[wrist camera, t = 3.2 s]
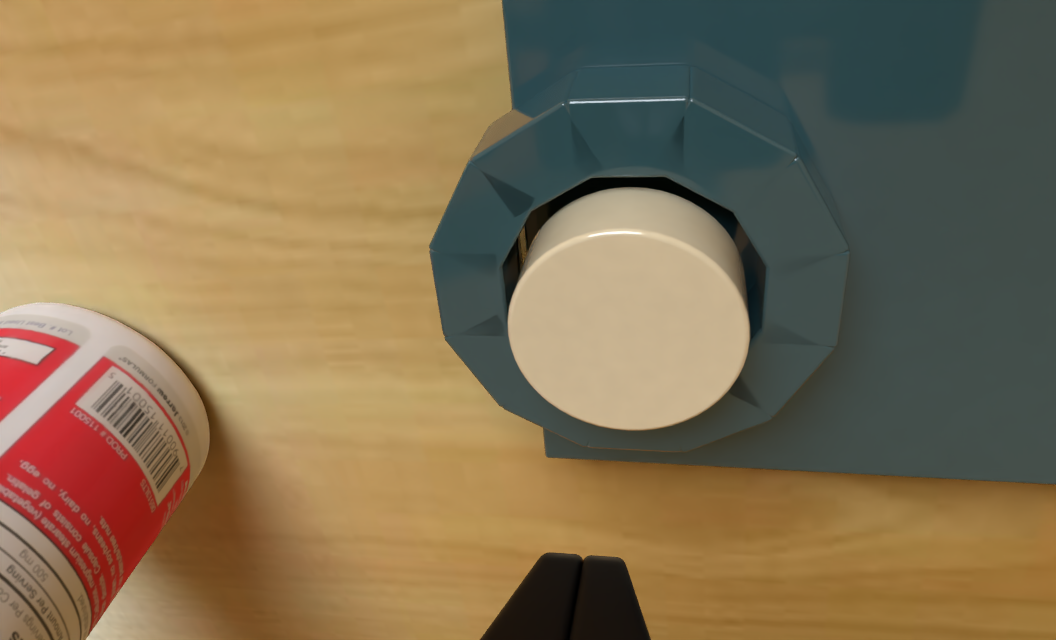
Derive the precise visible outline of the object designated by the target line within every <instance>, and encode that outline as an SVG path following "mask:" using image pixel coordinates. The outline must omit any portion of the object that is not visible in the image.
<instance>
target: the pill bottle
mask: <svg viewBox="0 0 1056 640" xmlns="http://www.w3.org/2000/svg"><path fill="white" fill-rule="evenodd" d="M209 445H210V430H209V423H208V418H207V414H206V410H205V407H204V405H203V402H202V400H201V398H200V396H199V394H198V392H197V391H196V389H195V388H194V386H193V385H192V383H191V382H190V380H189V379H188V378H187V376H186V375H185V374H184V373H183V371H182V370H181V369H180V368H179V367H178V365H177V364H176V363H175V362H174V361H173V360H172V359H171V358H170V357H169V356H168V355H167V354H166V353H165V352H164V351H163V350H161V349H160V348H159V347H158V346H157V345H155V344H154V343H153V342H151V341H150V340H149V339H147V338H146V337H144V336H143V335H141V334H140V333H138V332H136V331H135V330H133V329H131V328H129V327H128V326H126V325H124V324H122V323H120V322H119V321H116V320H114V319H112V318H110V317H108V316H105V315H103V314H100V313H98V312H95V311H92V310H88V309H85V308H81V307H77V306H73V305H69V304H60V303H49V302H46V303H31V304H26V305H21V306H17V307H14V308H11V309H8V310H6V311H4V312H1V313H0V640H85V639H86V638H87V637H88V635H89V634H90V632H91V631H92V629H93V628H94V627H95V625H96V624H97V622H98V621H99V619H100V618H101V616H102V615H103V614H104V612H105V611H106V609H107V608H108V606H109V605H110V603H111V602H112V600H113V599H114V598H115V596H116V595H117V593H118V592H119V590H120V589H121V588H122V586H123V585H124V583H125V582H126V580H127V579H128V577H129V576H130V574H131V573H132V572H133V570H134V569H135V567H136V566H137V564H138V563H139V562H140V560H141V559H142V557H143V556H144V554H145V553H146V552H147V550H148V549H149V547H150V546H151V545H152V543H153V542H154V540H155V539H156V537H157V536H158V534H159V533H160V531H161V530H162V528H163V527H164V526H165V524H166V523H167V521H168V520H169V519H170V517H171V515H172V514H173V513H174V511H175V510H176V508H177V507H178V505H179V504H180V503H181V501H182V500H183V498H184V497H185V495H186V493H187V492H188V490H189V489H190V487H191V486H192V484H193V483H194V481H195V480H196V478H197V477H198V475H199V474H200V472H201V470H202V468H203V466H204V464H205V461H206V458H207V455H208V451H209Z"/></svg>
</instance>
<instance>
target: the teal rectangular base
mask: <svg viewBox="0 0 1056 640" xmlns="http://www.w3.org/2000/svg"><path fill="white" fill-rule="evenodd" d="M502 8H503V19H504V29H505V39H506V50H507V60H508V71H509V81H510V91H511V102H512V111H510V112H509V113H507V114H505V115H504V116H502V117H501V118H499V119H498V120H496V121H494V122H493V123H492V124H491V126H489V127H488V128H487V130H486V132H485V133H484V135H483V137H482V139H481V140H480V142H479V144H478V145H477V147H476V149H475V150H474V152H473V154H472V156H471V157H470V159H469V161H468V162H467V165H466V167H465V169H464V171H463V173H462V175H461V178H460V180H459V182H458V184H457V186H456V188H455V191H454V193H453V195H452V197H451V199H450V201H449V204H448V206H447V208H446V210H445V212H444V215H443V217H442V219H441V221H440V223H439V225H438V228H437V230H436V232H435V234H434V236H433V238H432V241H431V243H430V245H429V248H430V251H429V252H430V258H431V264H432V270H433V276H434V282H435V288H436V294H437V300H438V306H439V312H440V318H441V324H442V330H443V334H444V336H445V340H446V341H447V343H448V344H449V345H450V346H451V347H452V349H453V350H454V351H455V352H456V354H457V355H458V356H459V357H460V358H461V360H462V361H463V362H464V363H465V365H466V366H467V367H468V368H469V369H470V371H471V372H472V373H473V374H474V375H475V377H476V378H477V379H478V380H479V382H480V383H481V384H482V385H483V386H484V388H485V389H486V390H487V391H488V392H489V394H490V395H491V396H492V397H493V399H494V400H495V401H496V402H497V403H498V405H499V406H501V407H503V408H504V409H505V410H507V411H509V412H511V413H513V414H515V415H518V416H520V417H522V418H524V419H526V420H528V421H530V422H532V423H534V424H536V425H539V426H541V427H543V435H544V445H545V455H546V457H548V458H564V459H582V460H601V461H620V462H639V463H658V464H677V465H695V466H714V467H733V468H752V469H771V470H789V471H808V472H827V473H846V474H865V475H883V476H902V477H921V478H940V479H959V480H977V481H996V482H1015V483H1034V484H1053V485H1056V0H502ZM621 187H642V188H650V189H656V190H661V191H665V192H668V193H671V194H675V195H677V196H679V197H682V198H684V199H686V200H688V201H690V202H692V203H694V204H695V205H697V206H699V207H700V208H702V209H704V210H705V211H706V212H707V213H709V214H710V215H711V216H712V217H714V218H715V219H716V220H717V221H718V222H719V223H720V224H721V225H722V227H723V228H724V229H725V230H726V231H727V233H728V234H729V235H730V237H731V238H732V240H733V241H734V243H735V245H736V247H737V249H738V251H739V253H740V256H741V259H742V262H743V265H744V271H745V277H746V286H747V297H748V307H749V318H750V345H749V352H748V355H747V358H746V361H745V364H744V367H743V369H742V371H741V373H740V375H739V377H738V378H737V380H736V381H735V382H734V384H733V385H732V387H731V388H730V389H729V391H728V392H727V393H726V394H725V395H724V396H723V397H722V398H721V399H720V400H719V401H718V402H716V403H715V404H714V405H713V406H711V407H710V408H709V409H707V410H706V411H704V412H702V413H701V414H699V415H697V416H695V417H693V418H691V419H689V420H687V421H684V422H681V423H678V424H675V425H672V426H668V427H664V428H659V429H652V430H635V431H627V430H617V429H610V428H605V427H600V426H596V425H593V424H590V423H586V422H584V421H581V420H579V419H577V418H574V417H572V416H570V415H568V414H566V413H565V412H563V411H561V410H559V409H558V408H556V407H555V406H553V405H552V404H551V403H549V402H548V401H547V400H545V399H544V398H543V397H542V396H541V395H540V394H539V393H538V392H537V391H536V390H535V389H534V388H533V387H532V386H531V385H530V383H529V382H528V381H527V379H526V378H525V376H524V375H523V374H522V372H521V370H520V368H519V366H518V364H517V363H516V361H515V358H514V355H513V352H512V350H511V347H510V342H509V337H508V325H507V319H508V310H509V305H510V302H511V298H512V295H513V292H514V289H515V286H516V283H517V281H518V278H519V275H520V272H521V269H522V266H523V263H522V253H521V243H520V232H521V230H522V228H523V227H524V237H525V248H526V255H527V252H528V250H529V248H530V246H531V243H532V241H533V239H534V238H535V236H536V235H537V233H538V231H539V230H540V229H541V227H542V226H543V225H544V224H545V223H546V222H547V221H548V219H549V218H551V217H552V216H553V215H554V214H555V213H556V212H557V211H559V210H560V209H561V208H563V207H565V206H566V205H568V204H569V203H571V202H572V201H575V200H577V199H579V198H581V197H583V196H585V195H588V194H591V193H595V192H598V191H602V190H607V189H612V188H621Z"/></svg>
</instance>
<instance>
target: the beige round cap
mask: <svg viewBox="0 0 1056 640" xmlns="http://www.w3.org/2000/svg"><path fill="white" fill-rule="evenodd" d="M507 325H508V337H509V342H510V347H511V350H512V352H513V355H514V358H515V361H516V363H517V364H518V366H519V368H520V370H521V372H522V374H523V375H524V376H525V378H526V379H527V381H528V382H529V383H530V385H531V386H532V387H533V388H534V389H535V390H536V391H537V392H538V393H539V394H540V395H541V396H542V397H543V398H544V399H545V400H547V401H548V402H549V403H551V404H552V405H553V406H555V407H556V408H558V409H559V410H561V411H563V412H565V413H566V414H568V415H570V416H572V417H574V418H577V419H579V420H581V421H584V422H586V423H590V424H593V425H596V426H600V427H605V428H610V429H617V430H627V431H635V430H652V429H659V428H664V427H668V426H672V425H675V424H678V423H681V422H684V421H687V420H689V419H691V418H693V417H695V416H697V415H699V414H701V413H702V412H704V411H706V410H707V409H709V408H710V407H711V406H713V405H714V404H715V403H716V402H718V401H719V400H720V399H721V398H722V397H723V396H724V395H725V394H726V393H727V392H728V391H729V389H730V388H731V387H732V385H733V384H734V382H735V381H736V380H737V378H738V377H739V375H740V373H741V371H742V369H743V367H744V364H745V361H746V358H747V355H748V352H749V345H750V318H749V307H748V297H747V286H746V277H745V271H744V265H743V262H742V259H741V256H740V253H739V251H738V249H737V247H736V245H735V243H734V241H733V240H732V238H731V237H730V235H729V234H728V233H727V231H726V230H725V229H724V228H723V227H722V225H721V224H720V223H719V222H718V221H717V220H716V219H715V218H714V217H712V216H711V215H710V214H709V213H707V212H706V211H705V210H704V209H702V208H700V207H699V206H697V205H695V204H694V203H692V202H690V201H688V200H686V199H684V198H682V197H679V196H677V195H675V194H671V193H668V192H665V191H661V190H656V189H650V188H642V187H621V188H612V189H607V190H602V191H598V192H595V193H591V194H588V195H585V196H583V197H581V198H579V199H577V200H575V201H572V202H571V203H569V204H568V205H566V206H565V207H563V208H561V209H560V210H559V211H557V212H556V213H555V214H554V215H553V216H552V217H551V218H549V219H548V221H547V222H546V223H545V224H544V225H543V226H542V227H541V229H540V230H539V231H538V233H537V235H536V236H535V238H534V239H533V241H532V243H531V246H530V248H529V250H528V252H527V255H526V258H525V261H524V264H523V266H522V269H521V272H520V275H519V278H518V281H517V283H516V286H515V289H514V292H513V295H512V298H511V302H510V305H509V310H508V319H507Z"/></svg>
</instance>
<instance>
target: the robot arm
mask: <svg viewBox="0 0 1056 640" xmlns="http://www.w3.org/2000/svg"><path fill="white" fill-rule="evenodd" d="M480 640H651V639H650V636H649V633H648V630H647V627H646V624H645V621H644V618H643V615H642V612H641V609H640V606H639V603H638V600H637V597H636V594H635V591H634V588H633V585H632V582H631V579H630V576H629V573H628V570H627V567H626V564H625V562H624V561H623V560H622V559H621V558H618V557H606V556H592V555H591V556H587V557H586V558H585V559H584V561H583V559H582V557H580V556H579V555H576V554H564V553H546V554H544V555H542V556H541V557H540V558H539V560H538V561H537V562H536V564H535V565H534V566H533V568H532V569H531V570H530V572H529V573H528V575H527V576H526V577H525V579H524V580H523V581H522V583H521V584H520V585H519V587H518V588H517V590H516V591H515V592H514V594H513V595H512V596H511V598H510V599H509V601H508V602H507V603H506V605H505V606H504V607H503V609H502V610H501V612H500V613H499V614H498V616H497V617H496V618H495V620H494V621H493V623H492V624H491V625H490V627H489V628H488V629H487V631H486V632H485V634H484V635H483V636H482V638H481V639H480Z"/></svg>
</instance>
